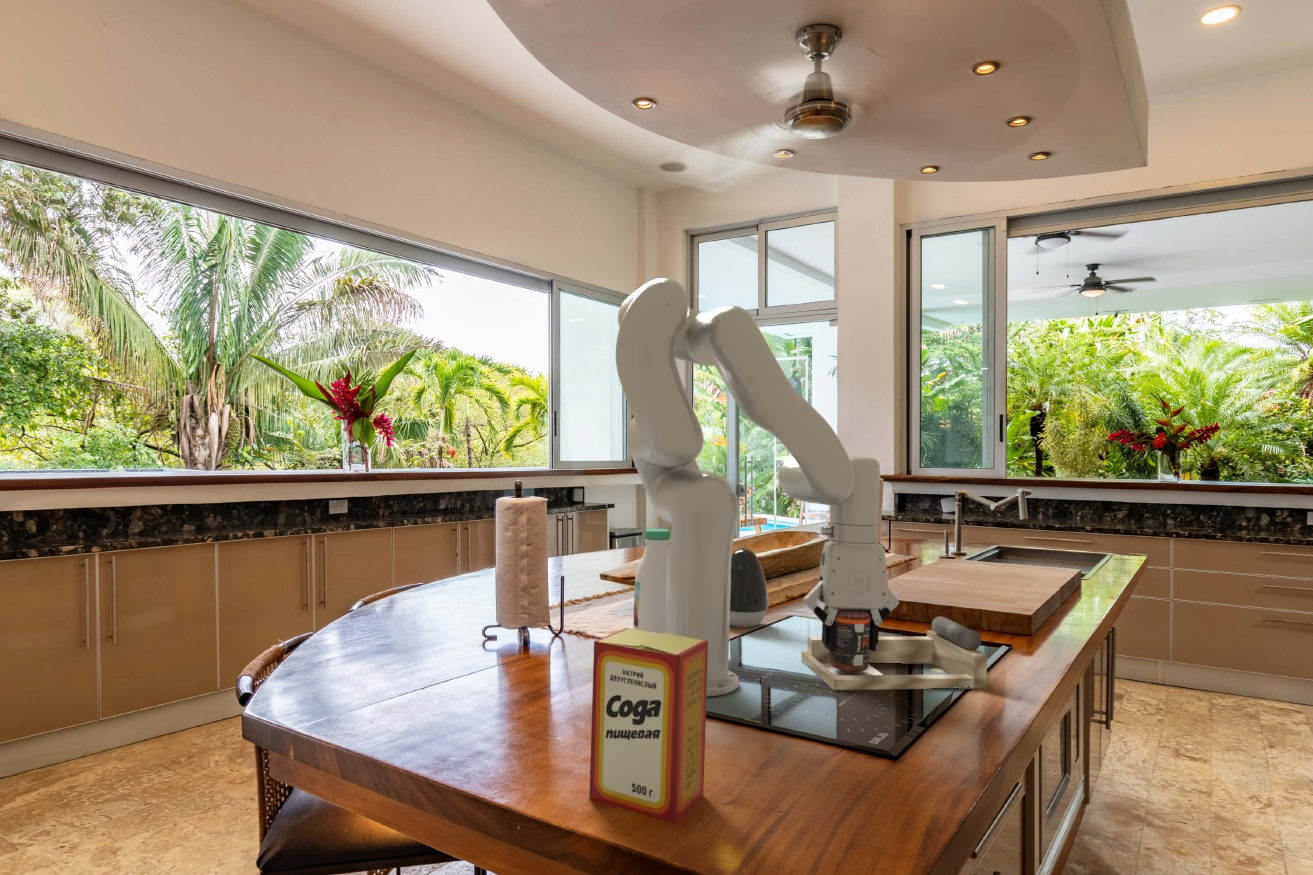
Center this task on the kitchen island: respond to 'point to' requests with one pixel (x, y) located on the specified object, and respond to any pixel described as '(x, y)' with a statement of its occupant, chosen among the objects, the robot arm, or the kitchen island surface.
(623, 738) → the baking soda box
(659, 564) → the milk bottle
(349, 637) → the kitchen island surface
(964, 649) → the bay
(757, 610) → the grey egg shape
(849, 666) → the supplement bottle
